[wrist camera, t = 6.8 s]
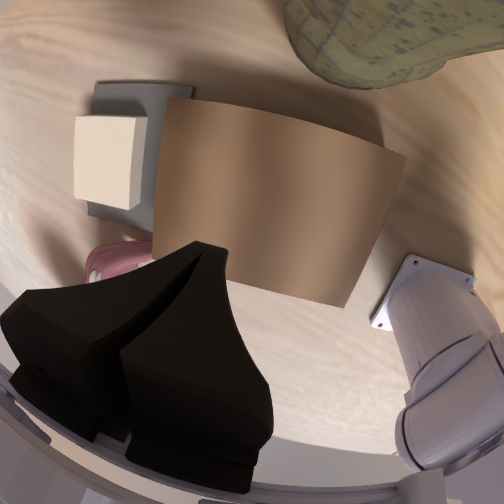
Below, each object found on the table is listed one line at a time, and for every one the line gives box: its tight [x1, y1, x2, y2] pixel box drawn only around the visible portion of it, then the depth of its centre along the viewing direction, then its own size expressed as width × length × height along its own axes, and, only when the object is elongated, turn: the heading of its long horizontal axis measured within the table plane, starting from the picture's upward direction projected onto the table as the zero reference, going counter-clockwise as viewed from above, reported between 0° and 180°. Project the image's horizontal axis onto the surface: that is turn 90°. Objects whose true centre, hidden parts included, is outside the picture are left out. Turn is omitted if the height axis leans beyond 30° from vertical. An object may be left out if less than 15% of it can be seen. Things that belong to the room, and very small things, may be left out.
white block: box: [74, 115, 148, 210], centre depth 18 cm, size 6×7×2 cm
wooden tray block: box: [152, 97, 407, 308], centre depth 17 cm, size 14×11×4 cm
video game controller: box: [85, 241, 153, 284], centre depth 23 cm, size 10×5×7 cm, turn 172°
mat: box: [87, 83, 194, 232], centre depth 19 cm, size 9×12×1 cm
